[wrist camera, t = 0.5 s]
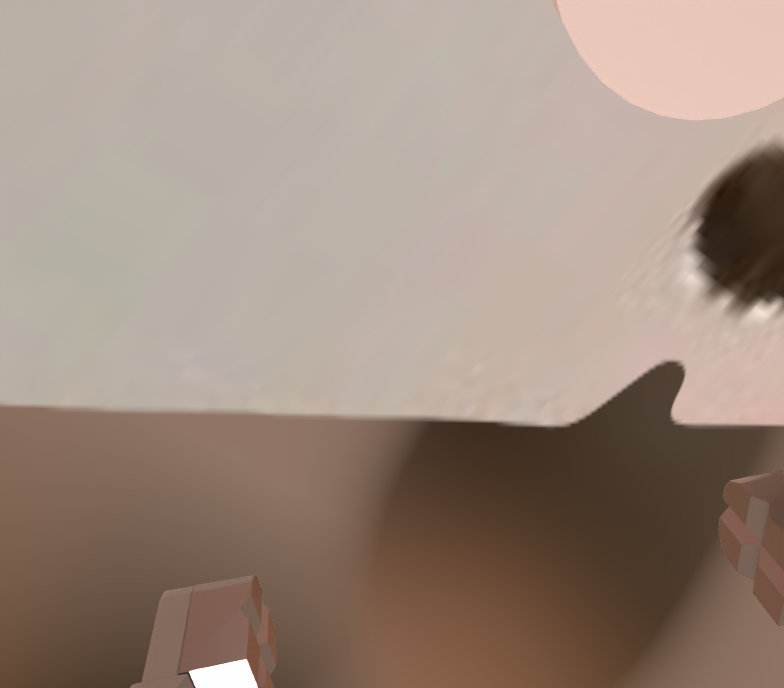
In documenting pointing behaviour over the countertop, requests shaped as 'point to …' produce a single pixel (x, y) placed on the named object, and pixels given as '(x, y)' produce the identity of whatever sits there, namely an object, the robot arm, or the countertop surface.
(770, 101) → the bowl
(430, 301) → the countertop surface
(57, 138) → the countertop surface
